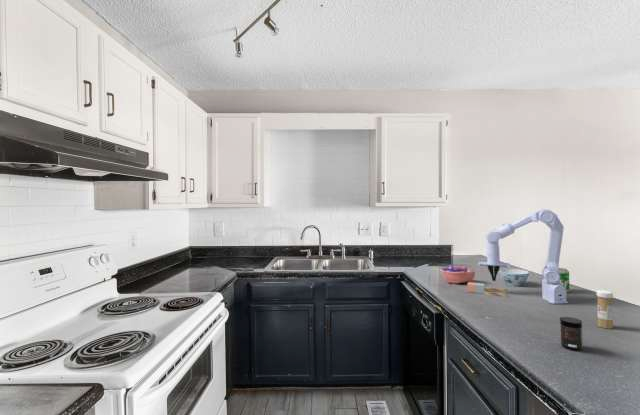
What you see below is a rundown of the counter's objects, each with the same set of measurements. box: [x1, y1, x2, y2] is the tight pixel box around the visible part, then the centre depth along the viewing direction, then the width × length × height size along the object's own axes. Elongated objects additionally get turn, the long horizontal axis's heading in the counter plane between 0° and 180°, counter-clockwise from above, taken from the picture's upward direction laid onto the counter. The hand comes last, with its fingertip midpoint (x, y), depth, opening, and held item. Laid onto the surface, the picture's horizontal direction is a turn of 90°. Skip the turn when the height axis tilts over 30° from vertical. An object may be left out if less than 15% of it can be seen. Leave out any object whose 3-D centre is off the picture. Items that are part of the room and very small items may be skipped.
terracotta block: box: [466, 281, 477, 293], centre depth 170 cm, size 4×5×4 cm
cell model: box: [439, 264, 476, 285], centre depth 190 cm, size 17×20×11 cm
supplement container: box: [559, 316, 584, 352], centre depth 104 cm, size 6×6×9 cm
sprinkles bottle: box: [596, 289, 614, 330], centre depth 120 cm, size 5×5×14 cm
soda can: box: [559, 267, 571, 294], centre depth 167 cm, size 8×8×12 cm
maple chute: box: [467, 287, 509, 298], centre depth 167 cm, size 20×14×2 cm
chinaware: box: [498, 268, 530, 287], centre depth 184 cm, size 15×15×8 cm
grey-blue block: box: [475, 282, 486, 294], centre depth 168 cm, size 4×5×4 cm
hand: (494, 280), depth 165 cm, fingers closed
